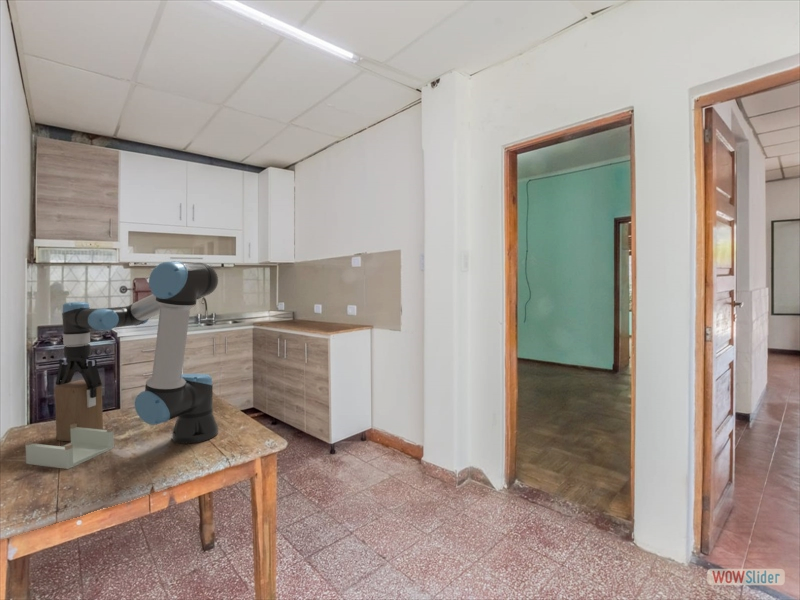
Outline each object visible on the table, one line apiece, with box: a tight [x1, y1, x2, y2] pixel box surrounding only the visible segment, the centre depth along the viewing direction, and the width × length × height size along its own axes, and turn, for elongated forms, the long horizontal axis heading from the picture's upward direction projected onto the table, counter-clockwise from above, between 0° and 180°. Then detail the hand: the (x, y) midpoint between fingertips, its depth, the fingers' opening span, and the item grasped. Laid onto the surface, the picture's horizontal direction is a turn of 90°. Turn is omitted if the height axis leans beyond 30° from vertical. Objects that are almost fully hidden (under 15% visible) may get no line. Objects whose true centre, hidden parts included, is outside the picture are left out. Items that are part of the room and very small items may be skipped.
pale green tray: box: [25, 424, 115, 470], centre depth 130 cm, size 16×16×7 cm
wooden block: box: [54, 379, 104, 443], centre depth 145 cm, size 10×10×20 cm
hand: (79, 405), depth 145 cm, fingers closed on wooden block, 10 cm apart
